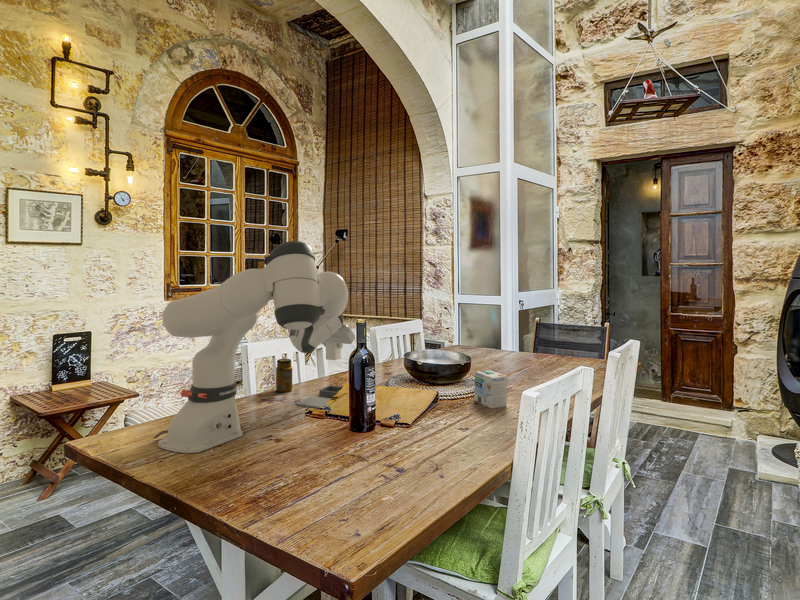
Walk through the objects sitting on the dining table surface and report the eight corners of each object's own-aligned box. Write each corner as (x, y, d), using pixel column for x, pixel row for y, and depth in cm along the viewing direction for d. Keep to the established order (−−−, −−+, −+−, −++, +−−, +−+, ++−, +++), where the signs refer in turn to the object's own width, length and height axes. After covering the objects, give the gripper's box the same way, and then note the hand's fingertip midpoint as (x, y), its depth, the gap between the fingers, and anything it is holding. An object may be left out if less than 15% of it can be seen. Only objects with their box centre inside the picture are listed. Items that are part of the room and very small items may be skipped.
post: (335, 360, 174) (335, 337, 173) (325, 359, 175) (325, 336, 174) (340, 358, 177) (340, 335, 177) (331, 357, 179) (331, 334, 178)
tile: (321, 408, 160) (321, 407, 159) (296, 405, 163) (296, 403, 163) (336, 400, 169) (336, 399, 169) (311, 397, 172) (311, 396, 172)
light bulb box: (473, 400, 172) (474, 371, 171) (489, 398, 175) (489, 369, 174) (491, 408, 162) (492, 377, 161) (507, 406, 165) (508, 375, 164)
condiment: (293, 388, 185) (293, 357, 184) (293, 394, 177) (293, 362, 176) (274, 389, 183) (274, 358, 183) (273, 395, 175) (273, 362, 174)
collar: (337, 398, 172) (337, 392, 172) (319, 395, 175) (319, 390, 175) (347, 392, 179) (347, 387, 179) (329, 390, 182) (329, 385, 182)
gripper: (350, 317, 165) (362, 341, 175) (299, 314, 172) (313, 337, 182) (344, 332, 161) (356, 355, 171) (292, 328, 168) (307, 351, 178)
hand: (334, 346), depth 176 cm, fingers closed on post, 4 cm apart
